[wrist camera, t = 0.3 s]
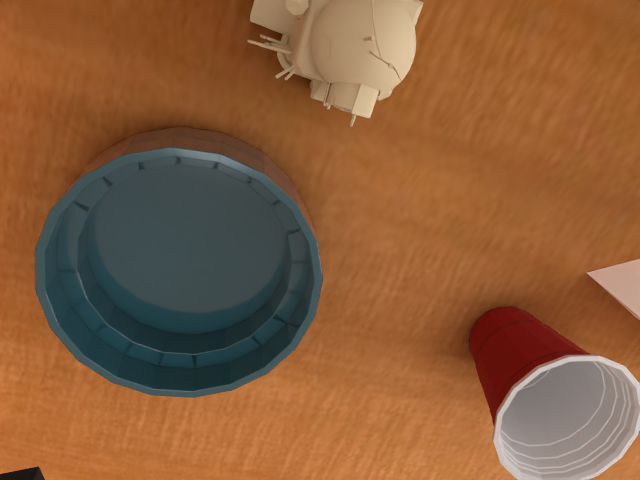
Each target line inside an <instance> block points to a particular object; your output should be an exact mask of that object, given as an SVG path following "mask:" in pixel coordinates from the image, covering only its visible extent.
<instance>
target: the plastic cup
mask: <svg viewBox="0 0 640 480" xmlns="http://www.w3.org/2000/svg"><path fill="white" fill-rule="evenodd" d="M469 342H470V349H471V352H472V356H473V359H474V361H475V364H476V369H477V372H478V376H479V379H480V382H481V385H482V388H483V391H484V394H485V396H486V399H487V402H488V405H489V408H490V412H491V416H492V419H493V425H494V431H493V441H494V444H495V447H496V450H497V454H498V457H499V460H500V463H501V464H502V465H503V466H504V467H505V468H506V469H507V470H508V471H509V472H510V473H511V474H512V475H513V476H514V477H515V478H516V479H517V480H588V479H590V478H593V477H596V476H598V475H599V474H601V473H602V472H603V471H605V470H606V469H607V468H609V467H610V466H611V465H613V464H614V463H615V462H617V461H618V460H619V459H620V458H622V456H623V455H624V454H625V452H626V451H627V449H628V448H629V447H630V445H631V444H632V442H633V441H634V440H635V438H636V437H637V435H638V433H639V429H640V383H639V382H638V381H637V380H636V379H635V378H634V376H633V375H632V374H631V373H630V372H629V370H628V369H627V368H626V367H625V366H624V365H621V364H619V363H616V362H614V361H611V360H609V359H606V358H604V357H601V356H598V355H596V354H590V353H587V352H585V351H584V350H582V349H581V348H579V347H578V346H577V345H575V344H574V343H572V342H571V341H569V340H568V339H566V338H565V337H563V336H562V335H560V334H559V333H558V332H556V331H555V330H553V329H552V328H550V327H549V326H547V325H545V324H542V323H541V322H540V321H538V320H537V319H536V318H534V317H533V316H531V315H530V314H529V313H527V312H524V311H522V310H520V309H517V308H515V307H499V308H496V309H494V310H491V311H488V312H487V313H486V314H484V315H483V316H482V317H481V318H479V319H478V320H477V322H476V323H475V325H474V326H473V328H472V329H471V334H470V339H469Z"/></svg>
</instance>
